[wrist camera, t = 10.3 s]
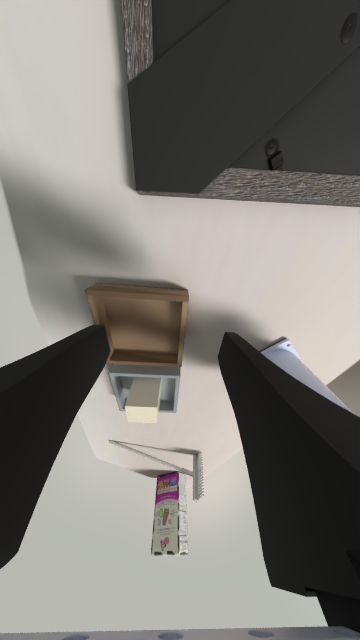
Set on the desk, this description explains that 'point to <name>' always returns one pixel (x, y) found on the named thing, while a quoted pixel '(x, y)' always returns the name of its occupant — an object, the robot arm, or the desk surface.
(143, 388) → the sandstone block
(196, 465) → the brush
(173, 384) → the grey tray
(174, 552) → the candy bar box
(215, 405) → the desk surface
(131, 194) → the desk surface
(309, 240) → the desk surface
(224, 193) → the picture frame
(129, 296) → the walnut tray
